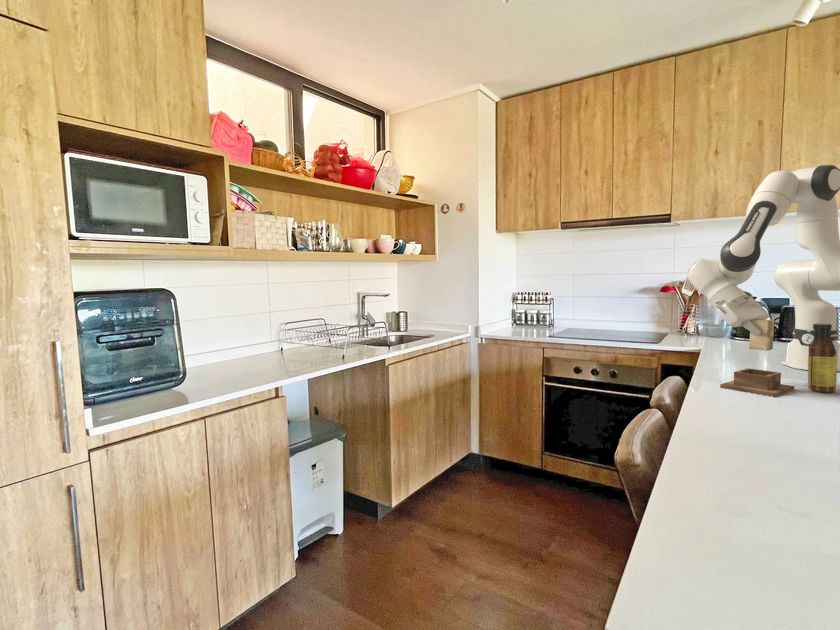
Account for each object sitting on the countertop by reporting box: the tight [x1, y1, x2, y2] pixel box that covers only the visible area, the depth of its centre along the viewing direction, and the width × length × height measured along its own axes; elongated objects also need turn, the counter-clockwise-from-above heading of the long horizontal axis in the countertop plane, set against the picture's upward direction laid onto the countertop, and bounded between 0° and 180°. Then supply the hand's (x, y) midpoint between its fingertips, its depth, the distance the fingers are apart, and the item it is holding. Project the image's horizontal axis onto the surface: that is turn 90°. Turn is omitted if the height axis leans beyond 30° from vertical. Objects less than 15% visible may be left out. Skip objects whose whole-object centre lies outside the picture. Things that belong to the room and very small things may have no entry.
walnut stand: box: [719, 367, 796, 398], centre depth 136 cm, size 14×14×5 cm
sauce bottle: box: [807, 323, 838, 394], centre depth 131 cm, size 7×6×20 cm
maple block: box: [748, 319, 775, 352], centre depth 136 cm, size 4×4×9 cm
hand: (764, 333), depth 136 cm, fingers closed on maple block, 4 cm apart
